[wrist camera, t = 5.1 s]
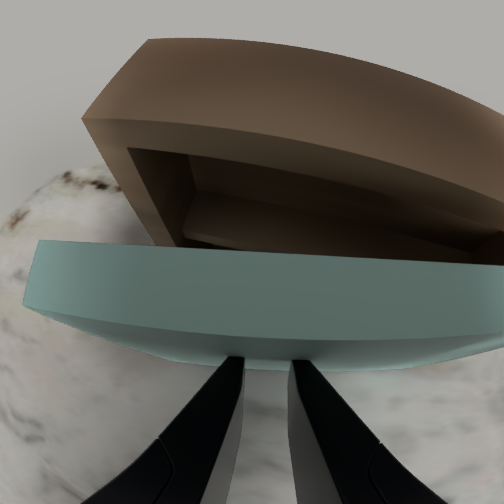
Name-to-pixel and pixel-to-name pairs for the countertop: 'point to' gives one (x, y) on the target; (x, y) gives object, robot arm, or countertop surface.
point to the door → (270, 305)
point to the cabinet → (300, 154)
